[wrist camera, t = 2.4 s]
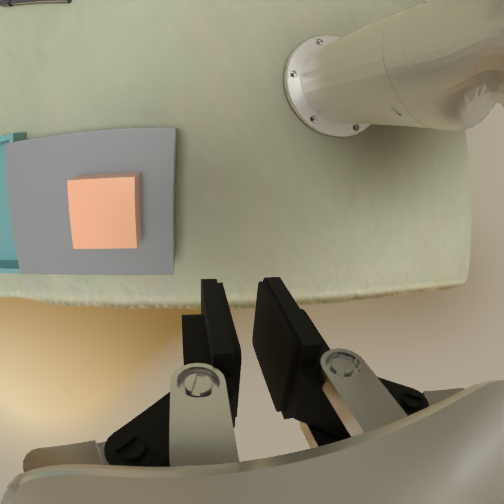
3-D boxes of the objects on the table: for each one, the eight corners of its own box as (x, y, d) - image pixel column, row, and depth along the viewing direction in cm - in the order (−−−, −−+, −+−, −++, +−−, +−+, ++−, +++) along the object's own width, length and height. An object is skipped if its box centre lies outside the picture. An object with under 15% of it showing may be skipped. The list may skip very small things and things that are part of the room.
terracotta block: (140, 172, 24) (134, 176, 21) (141, 236, 26) (136, 248, 23) (79, 175, 22) (67, 180, 19) (83, 237, 24) (73, 249, 22)
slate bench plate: (177, 128, 27) (175, 127, 23) (175, 254, 32) (173, 274, 28) (27, 140, 23) (5, 143, 19) (38, 255, 28) (20, 273, 24)
